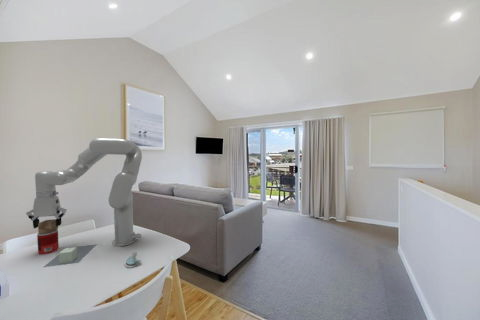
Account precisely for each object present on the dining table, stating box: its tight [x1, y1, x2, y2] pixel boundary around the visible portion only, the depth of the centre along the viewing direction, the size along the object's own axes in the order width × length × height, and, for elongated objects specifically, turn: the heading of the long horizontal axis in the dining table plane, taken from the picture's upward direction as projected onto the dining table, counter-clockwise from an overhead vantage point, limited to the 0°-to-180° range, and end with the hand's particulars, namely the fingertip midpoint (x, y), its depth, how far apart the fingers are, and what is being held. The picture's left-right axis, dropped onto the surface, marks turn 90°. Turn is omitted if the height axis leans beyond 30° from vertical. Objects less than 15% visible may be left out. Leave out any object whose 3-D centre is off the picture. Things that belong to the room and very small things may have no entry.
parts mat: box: [43, 243, 98, 268], centre depth 103 cm, size 14×20×1 cm
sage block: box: [58, 246, 77, 264], centre depth 97 cm, size 5×5×5 cm
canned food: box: [36, 228, 60, 255], centre depth 107 cm, size 8×8×11 cm
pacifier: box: [123, 249, 142, 269], centre depth 93 cm, size 7×6×6 cm
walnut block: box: [37, 218, 59, 234], centre depth 106 cm, size 6×6×6 cm
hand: (47, 226), depth 106 cm, fingers open, 9 cm apart
